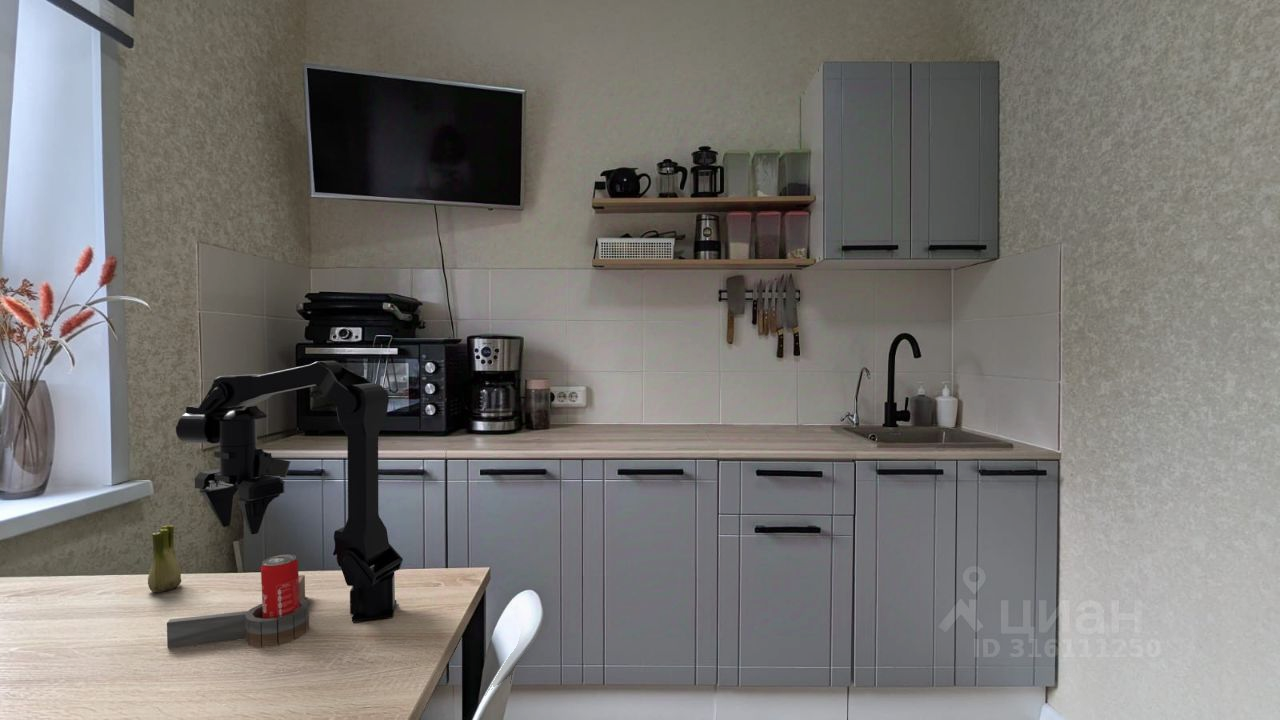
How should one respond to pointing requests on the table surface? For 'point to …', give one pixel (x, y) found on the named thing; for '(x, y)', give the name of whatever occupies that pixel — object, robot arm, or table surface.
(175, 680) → the table surface
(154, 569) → the fennel bulb
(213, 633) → the grey ring bracket
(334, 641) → the table surface
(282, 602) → the beverage can
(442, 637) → the table surface
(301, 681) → the table surface
